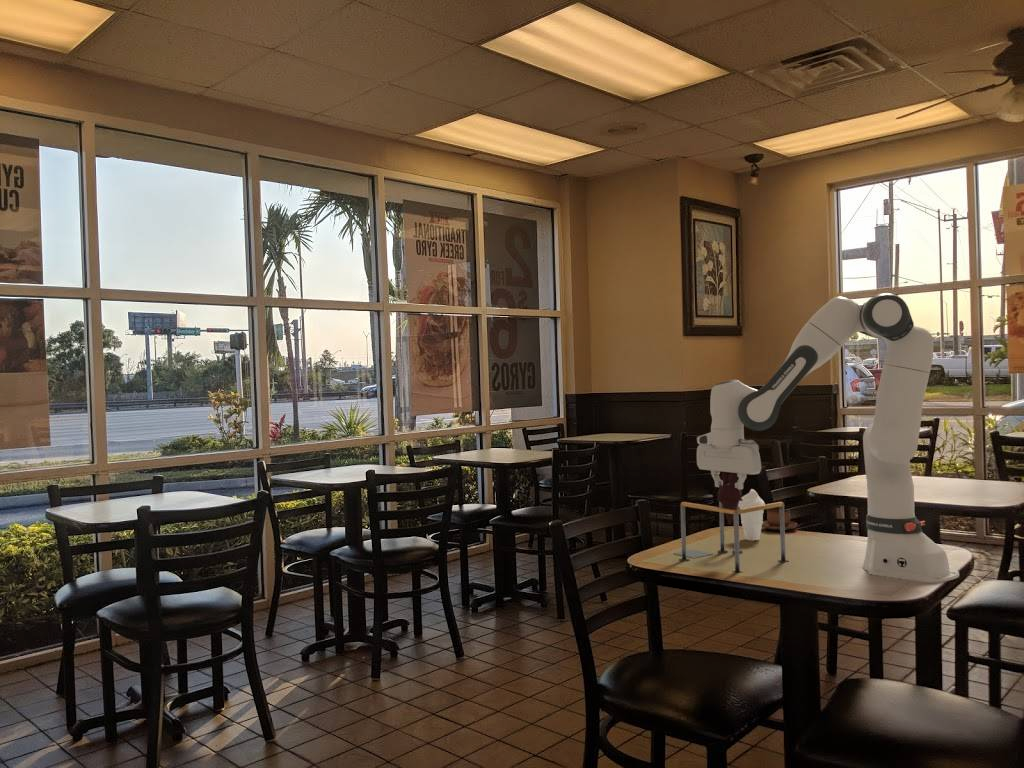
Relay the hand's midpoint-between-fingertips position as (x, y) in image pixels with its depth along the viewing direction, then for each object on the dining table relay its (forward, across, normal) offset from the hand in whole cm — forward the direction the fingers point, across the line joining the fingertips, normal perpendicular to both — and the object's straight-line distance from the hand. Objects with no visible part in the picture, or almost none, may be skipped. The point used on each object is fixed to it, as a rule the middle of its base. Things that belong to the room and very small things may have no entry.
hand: (728, 488), depth 222 cm
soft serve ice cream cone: (+21, +17, -30) cm, 41 cm away
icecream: (+10, 0, 0) cm, 10 cm away
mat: (+21, +14, 0) cm, 25 cm away
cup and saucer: (+22, +22, -50) cm, 59 cm away
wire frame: (+21, +1, -2) cm, 21 cm away
